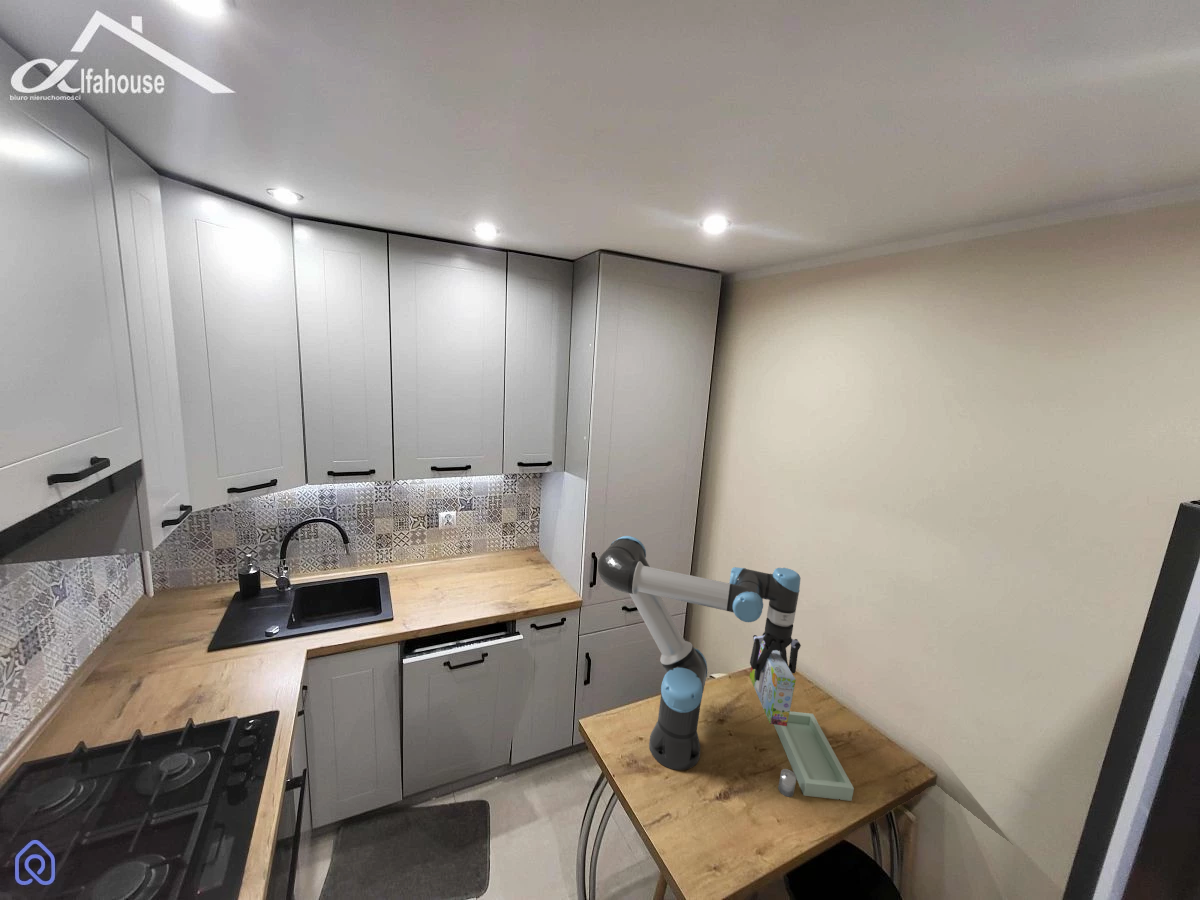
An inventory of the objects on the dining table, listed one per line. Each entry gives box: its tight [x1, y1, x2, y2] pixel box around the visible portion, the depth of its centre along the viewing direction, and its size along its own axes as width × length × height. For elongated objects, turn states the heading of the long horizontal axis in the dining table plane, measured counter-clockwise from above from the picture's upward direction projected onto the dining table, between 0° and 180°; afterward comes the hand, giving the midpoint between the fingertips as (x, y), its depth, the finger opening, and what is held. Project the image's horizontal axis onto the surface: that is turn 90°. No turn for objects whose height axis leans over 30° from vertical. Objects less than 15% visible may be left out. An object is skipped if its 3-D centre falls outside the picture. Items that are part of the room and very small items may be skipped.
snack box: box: [749, 640, 797, 726], centre depth 141 cm, size 21×6×15 cm, turn 178°
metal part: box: [777, 768, 797, 798], centre depth 129 cm, size 4×4×5 cm
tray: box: [773, 710, 855, 802], centre depth 142 cm, size 13×28×4 cm, turn 177°
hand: (768, 690), depth 142 cm, fingers closed on snack box, 6 cm apart
